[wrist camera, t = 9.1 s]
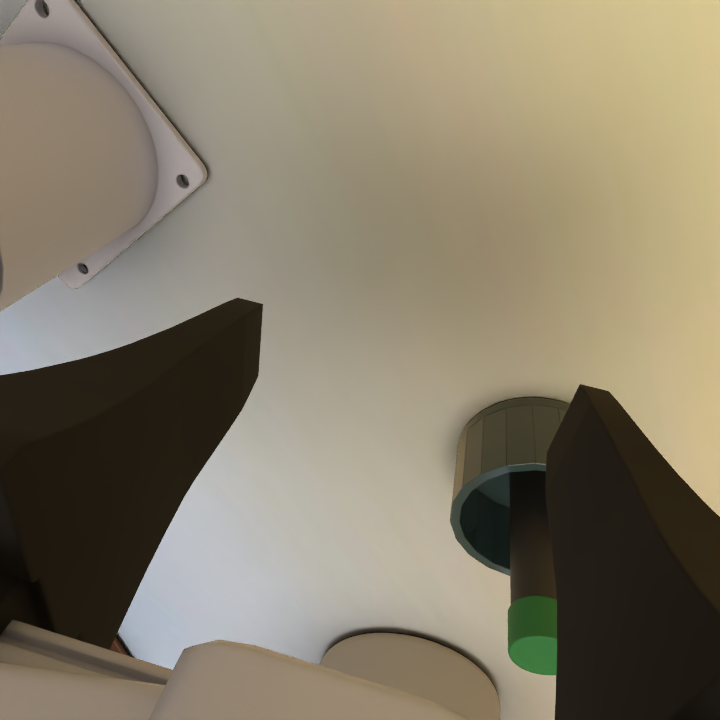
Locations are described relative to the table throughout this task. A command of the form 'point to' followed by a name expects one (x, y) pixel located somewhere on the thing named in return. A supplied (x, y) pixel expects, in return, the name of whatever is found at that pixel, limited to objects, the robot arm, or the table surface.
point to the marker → (531, 577)
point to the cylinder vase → (417, 671)
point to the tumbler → (498, 472)
